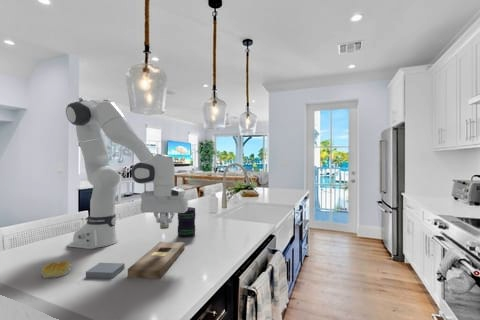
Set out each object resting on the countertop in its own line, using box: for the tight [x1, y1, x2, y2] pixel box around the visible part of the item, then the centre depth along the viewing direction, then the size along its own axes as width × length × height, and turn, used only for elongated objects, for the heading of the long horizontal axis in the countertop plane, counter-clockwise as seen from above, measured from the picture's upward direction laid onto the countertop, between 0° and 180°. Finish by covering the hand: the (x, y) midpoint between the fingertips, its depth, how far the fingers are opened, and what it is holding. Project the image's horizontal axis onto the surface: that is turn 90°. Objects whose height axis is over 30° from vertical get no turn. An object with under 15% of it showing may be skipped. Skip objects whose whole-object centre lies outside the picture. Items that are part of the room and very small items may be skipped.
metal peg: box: [159, 213, 170, 230], centre depth 108 cm, size 4×4×7 cm
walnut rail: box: [127, 241, 185, 280], centre depth 103 cm, size 12×30×3 cm, turn 176°
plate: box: [85, 262, 126, 279], centre depth 92 cm, size 10×8×2 cm
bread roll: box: [41, 261, 73, 279], centre depth 91 cm, size 8×9×4 cm
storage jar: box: [177, 206, 196, 239], centre depth 139 cm, size 10×10×15 cm
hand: (164, 222), depth 108 cm, fingers closed on metal peg, 4 cm apart
